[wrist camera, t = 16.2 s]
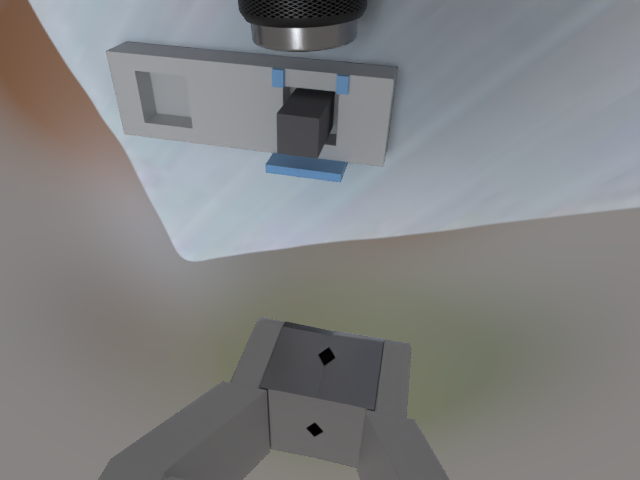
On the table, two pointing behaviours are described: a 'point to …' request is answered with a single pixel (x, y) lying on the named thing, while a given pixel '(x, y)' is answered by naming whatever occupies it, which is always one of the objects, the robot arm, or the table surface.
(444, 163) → the table surface
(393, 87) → the grey board with holes
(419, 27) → the table surface
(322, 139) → the dark rectangular block
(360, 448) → the robot arm
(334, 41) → the muzzle brake
